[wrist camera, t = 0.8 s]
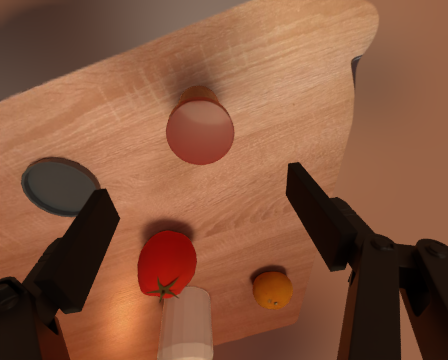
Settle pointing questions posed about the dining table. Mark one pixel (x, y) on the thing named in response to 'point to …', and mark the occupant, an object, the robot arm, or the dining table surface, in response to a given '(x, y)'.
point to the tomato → (166, 264)
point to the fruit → (272, 290)
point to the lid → (200, 130)
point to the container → (186, 327)
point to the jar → (198, 93)
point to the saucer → (59, 186)
